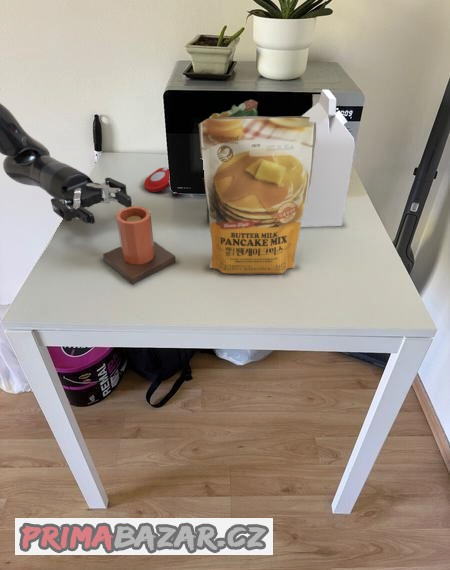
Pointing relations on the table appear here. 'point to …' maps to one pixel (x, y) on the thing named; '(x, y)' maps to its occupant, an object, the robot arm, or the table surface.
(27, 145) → the robot arm
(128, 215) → the faceted terracotta cup
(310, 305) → the table surface
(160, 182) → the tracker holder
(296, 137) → the pancake mix bag
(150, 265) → the ring stand
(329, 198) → the milk
